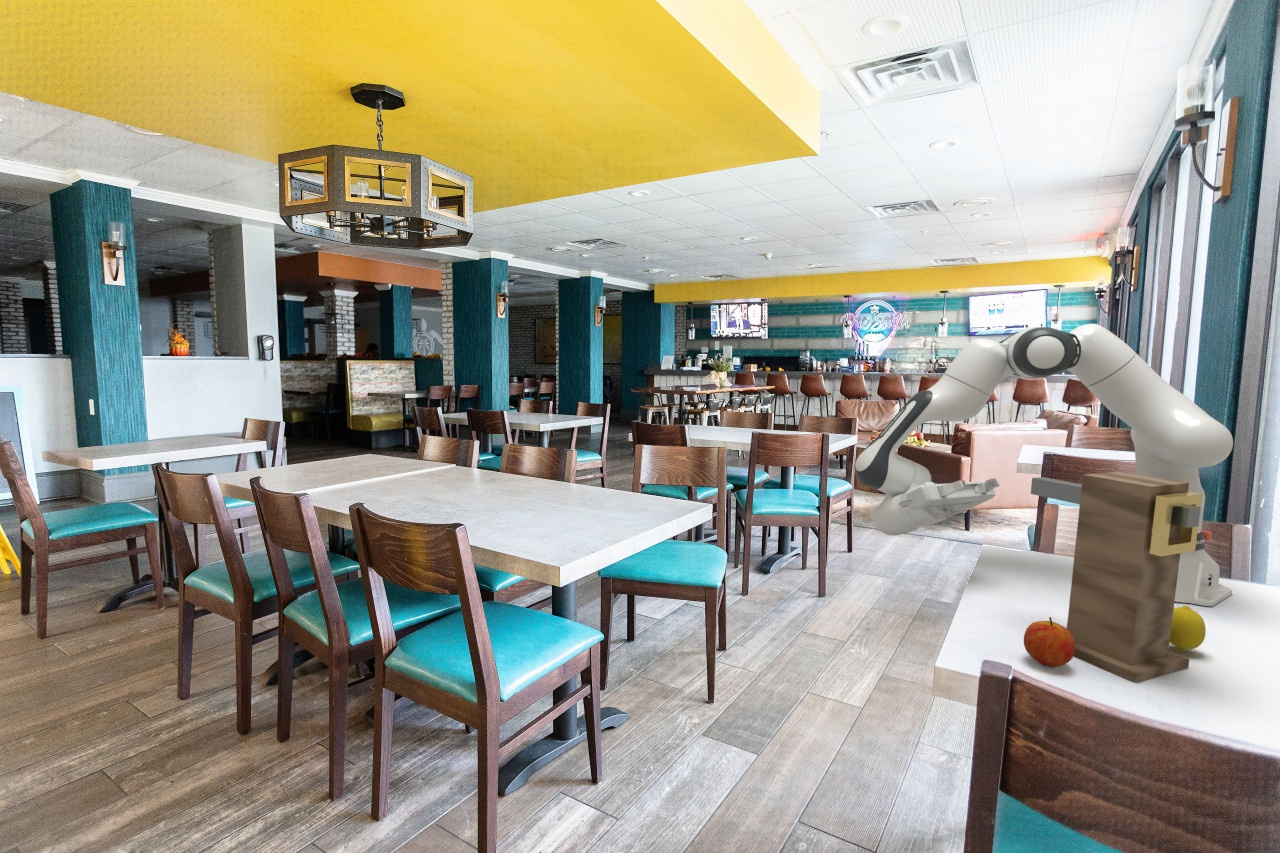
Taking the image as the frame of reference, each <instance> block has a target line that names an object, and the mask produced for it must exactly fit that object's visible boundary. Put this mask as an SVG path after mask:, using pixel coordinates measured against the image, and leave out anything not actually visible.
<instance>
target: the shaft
mask: <svg viewBox="0 0 1280 853" xmlns="http://www.w3.org/2000/svg"><path fill="white" fill-rule="evenodd" d="M1081 488H1082V483H1076V482H1071V481H1066V480H1060V479H1055V478H1049V477H1045V476H1039V477H1037V476H1036V477H1032V478H1031V488H1030V495H1035V496H1040V497H1043V498H1048V499H1053V500H1056V501H1057V500H1058V501H1063V502H1066V503H1071V504H1075V505H1079V506H1080V498H1081ZM1200 510H1201V507H1198V506H1193V505H1185V506H1176V507H1173V508H1172V516H1171V525H1176V526H1180V527H1185V528H1190V527H1198V526H1199V518H1200Z"/></svg>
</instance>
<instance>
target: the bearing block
mask: <svg viewBox="0 0 1280 853" xmlns="http://www.w3.org/2000/svg"><path fill="white" fill-rule="evenodd" d="M1081 481H1082V482H1081V484H1082V488H1081V498H1080V505H1079V509H1078V519H1077V528H1076V536H1075V537H1076V538H1075V547H1074V556H1073V566H1072V573H1071V574H1072V576H1071V585H1070V593H1069V603H1068V604H1069V605H1068V613H1067V623H1066V624H1067V625H1066V629H1068V630H1069V631H1070V633H1071V634H1072V636H1073V638H1074V642H1075V653H1074V656H1073V657H1074V658H1076V659H1079V660H1081V661H1084V662H1085V663H1088V664H1090V665H1092V666H1094V667H1097V668H1099V669H1102V670H1104V671H1106V672H1109V673H1110V674H1112V675H1113V674H1114V675H1116V676H1118V677H1120V678H1122V679H1124V680H1127V681H1129V682H1132V683H1134V684H1137V683H1141V682H1144V681H1147V680H1150V679H1154V678H1157V677H1160V676H1164V675H1168V674H1171V673H1172V674H1173V673H1176V672H1178V671H1181V670H1185V669H1188V668H1189V666H1190V658H1188V657H1185V656H1183V655H1180V654H1178V653H1175V652H1173V651H1170V650H1169V648H1170V633H1171V625H1172V617H1173V609H1174V608H1175V602H1174V601H1175V593H1176V585H1177V577H1178V569H1179V561H1180V553H1178V554H1172V555H1166V556H1157V555H1154V554H1150V546H1151V537H1152V529H1153V520H1154V512H1155V503H1156V496H1158V495H1167V494H1177V493H1187V492H1188V488H1189V483H1186V482H1180V481H1174V480H1168V479H1162V478H1155V477H1149V476H1143V475H1137V473H1130V472H1125V471H1113V472H1100V473H1086V474H1082V480H1081ZM1180 531H1181V527H1180V526H1176V525H1171V524H1170V532H1169V540H1168V541H1173V540H1179V539H1180Z"/></svg>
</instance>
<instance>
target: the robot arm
mask: <svg viewBox="0 0 1280 853" xmlns="http://www.w3.org/2000/svg"><path fill="white" fill-rule="evenodd" d="M1063 371H1068V372H1070V373H1071V374H1073V375H1074V376H1075V377H1076V378H1077V379H1078V380H1079V381H1080V383H1081V384H1083V386H1085V387H1086V388H1087V390H1089V392H1091V394H1092V395H1093V396H1094V397H1095V398H1096V399H1097V400H1098V401H1099V402H1100V403H1101V404H1102V405H1103V406H1104V407H1105V408H1106V409H1107V410H1108V411H1109V412H1110V413H1111V414H1112V415H1114V416H1115V417H1117V418H1118V419H1119V420H1121V421H1122V422H1123V423H1125V425H1127V426H1129V427H1130V437H1131V441H1132V442H1133V446H1134V454H1135V455H1134V458H1135V468H1136V474H1137V475H1143V476H1149V477H1155V478H1162V479H1168V480H1174V481H1180V482H1186V483H1189V488H1188V492H1193V493H1199V494H1202V500H1201V510H1200V518H1199V526H1198V532H1197V540H1196V548H1195V551H1190V552H1184V553H1180V561H1179V562H1180V569H1179V572H1178V577H1177V585H1176V593H1175V602H1176V603H1187V604H1194V605H1198V606H1199V605H1200V606H1205V607H1213V606H1215V605H1217V604H1219V603H1220V602H1222V601H1224V600H1225V599H1227V598H1228V597H1230V596H1231V595H1233V589H1232V588H1230V587H1228V586H1225V585H1223V584H1220V582H1219V580H1220V573H1221V572H1220V571H1221V570H1220V565H1219V564H1218V563H1217V562H1216V561H1215V560H1214V559H1213V558H1212V557H1211V555H1210V554H1208V553H1207V551H1206V550H1205V548H1206V545H1205V542H1209V541H1210V540H1211V539H1212V532H1211V531H1208V530H1202V526H1203V518H1204V511H1205V503H1206V494H1205V490H1204V488H1203V487H1202V484H1201V480H1200V475H1199V474H1200V473H1199V469H1200V468H1207V467H1208V468H1209V467H1213V466H1215V465H1218V464H1220V463H1222V462H1224V461H1225V460H1226V459H1227V458H1228V457H1229V456H1230V454H1231V452H1232V450H1233V448H1234V439H1233V436H1232V433H1231V432H1230V430H1229V429H1228V427H1226V426H1225V425H1224V424H1222V423H1220V421H1218V420H1217V419H1215V418H1214V417H1212V416H1211V415H1209V414H1208V413H1207V412H1206V411H1205V410H1204V409H1202V408H1201V407H1200V406H1199V405H1197V404H1196V403H1195V402H1194V401H1192V400H1191V399H1189V398H1188V397H1187V396H1186V395H1184V394H1183V393H1182V392H1180V391H1179V390H1177V388H1175V387H1173V386H1172V385H1170V384H1169V383H1168V382H1167V381H1166V380H1165V379H1163V378H1162V377H1161V376H1160V375H1159V374H1158V373H1157V371H1155V370H1154V369H1153V368H1152V367H1151V366H1150V365H1149V364H1148V363H1147V362H1146V361H1145V360H1144V359H1143V358H1142V357H1141V356H1140V355H1139V354H1138V353H1137V352H1136V351H1134V350H1133V349H1132V347H1131V346H1129V344H1127V343H1126V342H1125V341H1123V339H1121V338H1119V337H1118V336H1117V335H1115V333H1113V332H1111V331H1110V330H1109V329H1107V328H1106V327H1104V326H1102V325H1100V324H1098V323H1087V324H1082V325H1080V326H1077V327H1075V328H1073V329H1072V330H1070V331H1069V332H1067V331H1063V330H1060V329H1057V328H1053V327H1047V326H1046V327H1045V326H1041V327H1038V326H1037V327H1029V328H1024V329H1022V330H1020V331H1018V332H1015V333H1013V334H1011V335H1009V336H1008V337H1006V338H1005V339H1003V340H1001V341H999V342H997V341H995V340H992V339H989V338H975V339H973V340H970V341H968V343H967V344H966V345H965V346H964V347H963V348H962V349H961V351H959V353H958V354H956V356H955V357H954V359H953V360H952V361H951V362H950V364H949V366H948V367H947V368H946V370H945V372H943V375H942V376H941V377H940V378H939V379H938V381H937V382H935V384H933V385H932V386H931V387H930V388H928V389H926V390H925V389H924V390H920V391H918V392H916V393H915V394H914V395H912V397H911V398H910V399H909V400H907V401H906V403H905V404H904V405H903V406H902V407H901V408H900V410H899V411H898V412H897V413H896V414H895V415H894V417H893V418H892V419H890V421H889V423H888V424H887V425H886V426H885V427H884V428H883V430H881V432H880V433H879V434H878V435H877V437H876V438H875V439H874V440H873V441H872V442H870V444H869V445H868V446H866V447H865V448H864V449H862V451H861V452H860V453H859V454H858V456H857V458H856V459H855V461H854V472H855V476H856V478H857V480H858V482H859V484H861V485H862V486H864V487H868V488H871V489H873V490H878V491H880V492H882V493H884V494H885V496H884V498H883V499H882V501H880V503H879V504H877V505H876V506H875V507H874V508H873V509H872V511H871V512H870V514H871V515H870V516H871V521H872V523H873V526H874V527H875V528H876V529H877V530H878V531H880V533H883V534H885V535H888V536H899V535H905V534H908V533H912V532H914V531H917V530H918V529H920V527H927V526H931V525H933V524H937V523H939V522H942V521H946V520H947V519H949V518H952V517H955V516H960V515H963V514H966V513H967V512H968V509H971V508H974V507H977V506H979V505H981V504H983V503H986V502H988V501H990V500H991V499H993V498H994V497H996V491H995V489H996V488H999V487H1000V481H999V479H998V478H995V477H994V478H989V479H987V480H979V481H966V480H957V481H954V482H950V483H936V482H934V481H933V477H932V474H931V472H930V470H929V469H928V468H927V467H925V466H924V465H922V464H919V463H917V462H915V461H913V460H910V459H908V458H906V457H904V456H902V455H899V454H898V453H896V452H897V451H898V449H900V447H901V446H902V444H904V442H905V441H906V440H907V439H908V438H909V437H910V435H912V433H913V431H915V429H916V428H918V427H919V426H920V425H922V424H924V423H928V422H934V421H935V422H936V421H937V422H939V421H941V422H961V421H966V420H970V419H972V418H974V417H976V416H977V415H978V414H979V413H981V411H983V408H984V407H985V406H986V404H987V403H988V401H989V400H990V398H991V396H992V395H993V393H994V392H995V390H996V388H997V386H998V385H999V384H1000V383H1001V382H1002V381H1003V380H1004V379H1006V377H1008V376H1010V375H1013V376H1018V377H1019V376H1020V377H1024V378H1029V379H1039V378H1047V377H1051V376H1053V375H1056V374H1059V373H1061V372H1063ZM1175 602H1174V603H1175Z"/></svg>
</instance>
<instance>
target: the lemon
mask: <svg viewBox="0 0 1280 853" xmlns="http://www.w3.org/2000/svg"><path fill="white" fill-rule="evenodd" d="M1206 628H1207V627H1206V623H1205V621H1204V618H1203V617H1202V615H1201V614H1199V613H1198V612H1197V611H1196V610H1194V609H1192V608H1191V607H1190V606H1188V605H1183V606H1178V607H1174V609H1173V617H1172V625H1171V633H1170V642H1169V644H1171V646H1174V647H1175V649H1177V650H1178V651H1179V652H1185V651H1187V650H1193V649H1197V648H1198V647H1199V646H1201V645H1202V644H1203V642H1204V641H1205V638H1206V631H1207V629H1206Z"/></svg>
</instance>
